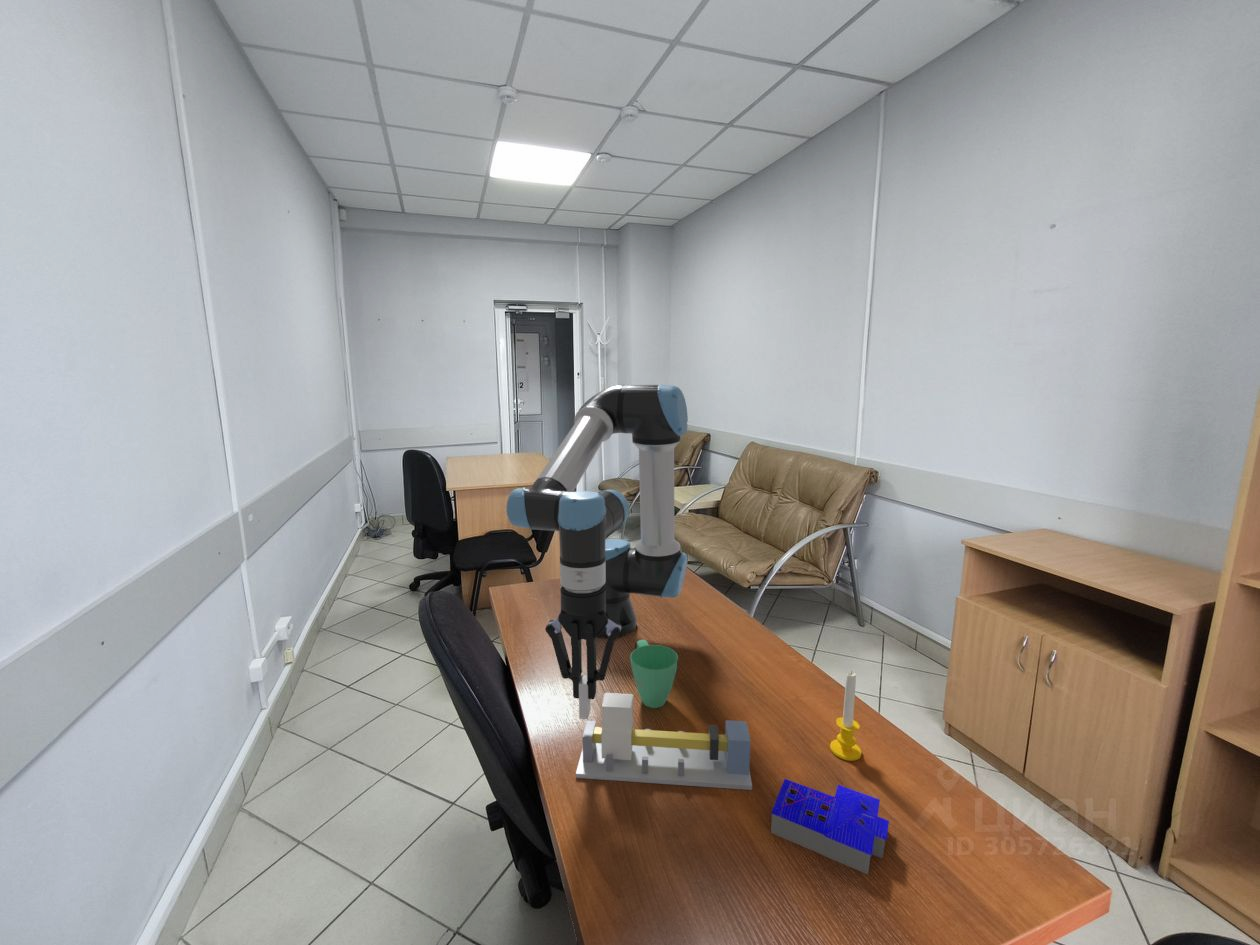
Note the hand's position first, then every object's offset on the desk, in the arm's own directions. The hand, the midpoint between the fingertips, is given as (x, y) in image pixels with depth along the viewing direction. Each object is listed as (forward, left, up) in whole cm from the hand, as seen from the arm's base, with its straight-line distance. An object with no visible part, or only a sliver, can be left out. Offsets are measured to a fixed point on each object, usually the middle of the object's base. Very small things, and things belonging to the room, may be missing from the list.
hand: (585, 713), depth 92 cm
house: (+11, +39, -9) cm, 41 cm away
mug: (-20, +10, -9) cm, 24 cm away
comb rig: (0, +14, -8) cm, 16 cm away
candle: (-6, +46, -9) cm, 47 cm away
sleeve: (0, +6, -6) cm, 9 cm away
